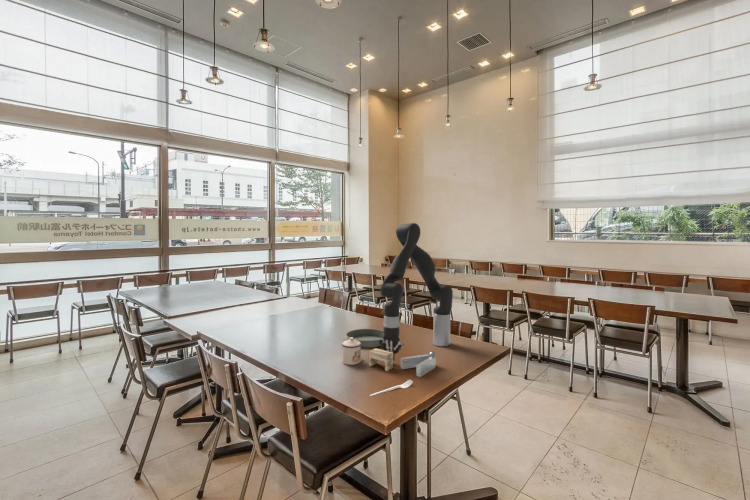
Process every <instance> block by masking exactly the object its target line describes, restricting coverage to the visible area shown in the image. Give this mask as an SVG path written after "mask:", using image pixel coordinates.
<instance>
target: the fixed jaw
mask: <svg viewBox="0 0 750 500" xmlns="http://www.w3.org/2000/svg"><path fill="white" fill-rule="evenodd" d="M436 359H437V358H436V356H435V357H433V356H431V357H430V356H429V358H428V359H426V360H424V361H423V362H421V363H419V364H417V365H416V367H415V369H416V370H415V371H416V374H415V376H416V377H418V378H421V377H423V376H425V375H426V374H428V373H429V372H431V371H432V370H434V369H435V368H436Z"/></svg>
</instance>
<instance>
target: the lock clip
mask: <svg viewBox="0 0 750 500" xmlns="http://www.w3.org/2000/svg"><path fill="white" fill-rule="evenodd" d="M378 361H381V362H384V371H385V372H388V371H390V370H392V369H393V368H394V361H393V352H389V351H385V350H383V349H379V348H376V347H374V348H373V349H371V350H369V351H368V366H369V367H373V366H374V365H376V364H378Z"/></svg>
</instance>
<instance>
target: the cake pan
mask: <svg viewBox="0 0 750 500" xmlns="http://www.w3.org/2000/svg"><path fill="white" fill-rule="evenodd" d="M344 336H345V337H346V338H347V339H346V340H349V338H350V337H353V338H354V340H356V341H359V342H360V343H361V348H376V347H380V346H381V344H380V342H379V341H380V340H382V339H383V337H384V334H383V329H378V328H357V329H353V330H349V331H347V332H346V333H345V334H344ZM381 347H382V346H381Z"/></svg>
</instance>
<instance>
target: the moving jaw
mask: <svg viewBox="0 0 750 500" xmlns="http://www.w3.org/2000/svg"><path fill="white" fill-rule="evenodd" d="M431 356H433V357H436V351H433V350H432V351H429V354H428V353H425V354H418V355H413V356H406V357H404V356H403V357H400V369H401V370H407V369H413V368H416V365H417V364H419V363H421V362H423V361H424V360H426V359H428V358H430V357H431Z"/></svg>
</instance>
